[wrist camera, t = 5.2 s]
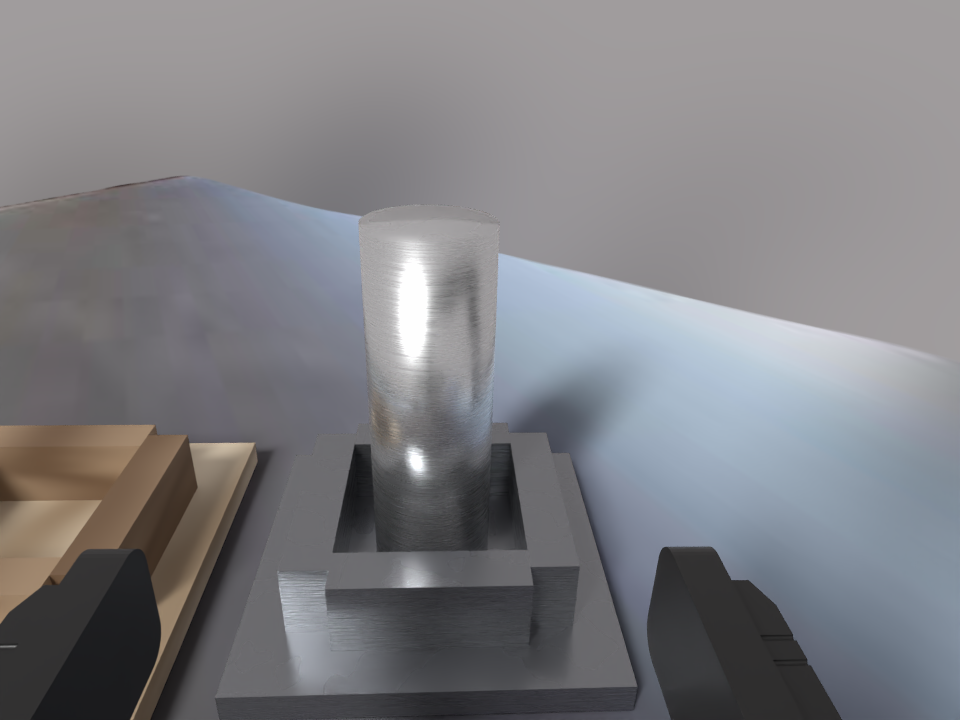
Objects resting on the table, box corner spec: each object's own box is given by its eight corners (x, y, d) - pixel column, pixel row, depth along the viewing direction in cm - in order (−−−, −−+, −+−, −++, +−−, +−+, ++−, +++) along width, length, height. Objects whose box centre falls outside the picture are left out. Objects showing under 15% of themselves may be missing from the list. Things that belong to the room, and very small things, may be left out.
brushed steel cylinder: (484, 511, 27) (494, 205, 22) (490, 587, 23) (504, 242, 18) (381, 512, 27) (365, 203, 21) (371, 589, 23) (350, 241, 18)
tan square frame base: (257, 461, 31) (247, 394, 30) (134, 757, 19) (106, 667, 17) (-18, 463, 31) (-42, 394, 29) (-335, 771, 18) (-407, 679, 17)
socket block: (567, 471, 31) (574, 404, 30) (633, 709, 20) (648, 623, 19) (298, 473, 31) (290, 405, 29) (219, 721, 20) (201, 633, 18)
